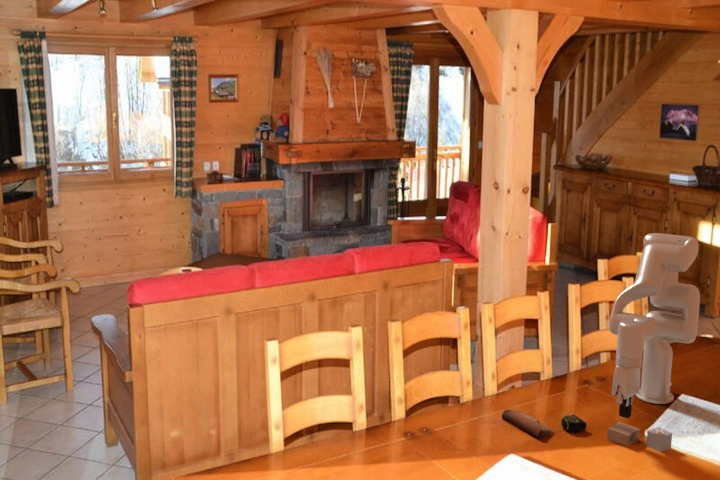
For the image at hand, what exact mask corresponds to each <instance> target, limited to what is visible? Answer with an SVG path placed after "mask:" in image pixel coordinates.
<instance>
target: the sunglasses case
mask: <svg viewBox="0 0 720 480" xmlns="http://www.w3.org/2000/svg"><path fill="white" fill-rule="evenodd" d="M501 418H502V419H503V420H505V421H507V422H509V423H511V424H514V425H515V426H517V427H519V428H520V429H522V430H524V431H526V432H528V433H529V434H531V435H533V436H534V437H536V438H537V439H538V440H542V439H543V440H544V439H545V438H546V439H547V438H548V436H549V437H552V436H554V435H556V434H557V433H556V432H555V431H554V430H553V429H551V428H550V427H549V426H547V425H546V424H544V423H543V422H541V421H539V419H538V418H536V417H534V416H532V415H530V414H527V413H525V412H522V411H520V410H519V411H518V410H514V409H505V410H504V411H503V412H502V414H501Z"/></svg>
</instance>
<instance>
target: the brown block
mask: <svg viewBox="0 0 720 480" xmlns="http://www.w3.org/2000/svg"><path fill="white" fill-rule="evenodd" d="M640 435H641V428H638V427H636V426H633V425H630V424H627V423H623V422H621V421H618V422H616V423H615V424H614V425H612V426H610V427H608V428H607V437H606V438H607V441H610V442H614V443H615V444H618V445H620V446H624V447H626V448H629V447H631V446H632V445H633V444H635V443H637V442H639V441H640V437H641V436H640Z"/></svg>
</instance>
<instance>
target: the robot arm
mask: <svg viewBox="0 0 720 480" xmlns="http://www.w3.org/2000/svg"><path fill="white" fill-rule="evenodd" d="M642 242H643V249H642V252H641V256H640V260H639V264H638V266H637V270H636V271H637V272H636V274H635V278H634V282H633V283H632V284H631V285H630V286H629V285H628V287H626V288H625V289H624V290H622V292H620V293H619V294H618V296H617V297H616V298H615V299H614V302H613V305H612V309H611V312H610V316H609V320H608V329H609V331H610V333H611V334H613V335H615V336H617V339H616V341H617V342H616V352H615V353H616V354H615V368H614V372H613V378H612V385H611V386H612V387H611V396H612V397H615V396H616V403H618V405H619V410H618V416H620V417H622V418H626V419H629V418H630V417H632V407H633V401H634V396H636V397H637V398H638V399H639V400H641V401H644V402H646V403H650V404H655V405H666V404H670V403H672V402H673V401H674V400H675V395H674V394H673V393H672V392H671V390H670V389H671V386H672V385H673V382H672V381H671V379H672V377H671V376H672V365H673V355H674V353H673V349H672V346H671V345H670V343H669V342H668V341H670V342H676V343H682V344H692V343H693V342H694V341H695V340H696V338H697V334H698V325H699V315H700V305H701V304H700V303H701V295H700V289H699V288H698V287H697V286H696V285H693V284H691V283H690V284H689V283H683V282H679V272H680V273H683V272H686V271H688V269H690V267H691V266H692V264H693V263H694V262H695V260H696V258H697V257H698V254H699V249H700V248H699V247H700V245H699V242H698V239H696V238H695V237H692V236H688V235H679V234H671V233H670V234H669V233H660V232H654V233H652V232H651V233H647V234H646V235H645V236H644V238H643V241H642ZM648 297H649V301H650V304H651V305H652V306H653V307H655V308H660V309H664V310H665V309H666V310H671V311H678V312H682V314H680V313H673V312H668V311H662V310H661V311H660V310H652V311H647V312H646V313H645V315H643V314H642V315H641V314H636V313H631V312H624V310H625V308H626V307H627V306H628V305H629V304H631V303H632V302H634V301H637V300H641V299H644V298H648ZM641 368H642V369H641ZM641 370H642V371H641Z"/></svg>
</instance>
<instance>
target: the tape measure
mask: <svg viewBox="0 0 720 480" xmlns="http://www.w3.org/2000/svg"><path fill="white" fill-rule="evenodd" d="M560 420H561V421H560V422H561V423H560V425H561V427H562V429H564V430H565V431H569V432H575V433H576V432H580V431H584V430H586V429H587V422H585V421H584V420H583V419H582V418H580V417H578V416H577V415H576V414H570V415H569V414H566V415H564V416H562V418H561V419H560Z"/></svg>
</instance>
